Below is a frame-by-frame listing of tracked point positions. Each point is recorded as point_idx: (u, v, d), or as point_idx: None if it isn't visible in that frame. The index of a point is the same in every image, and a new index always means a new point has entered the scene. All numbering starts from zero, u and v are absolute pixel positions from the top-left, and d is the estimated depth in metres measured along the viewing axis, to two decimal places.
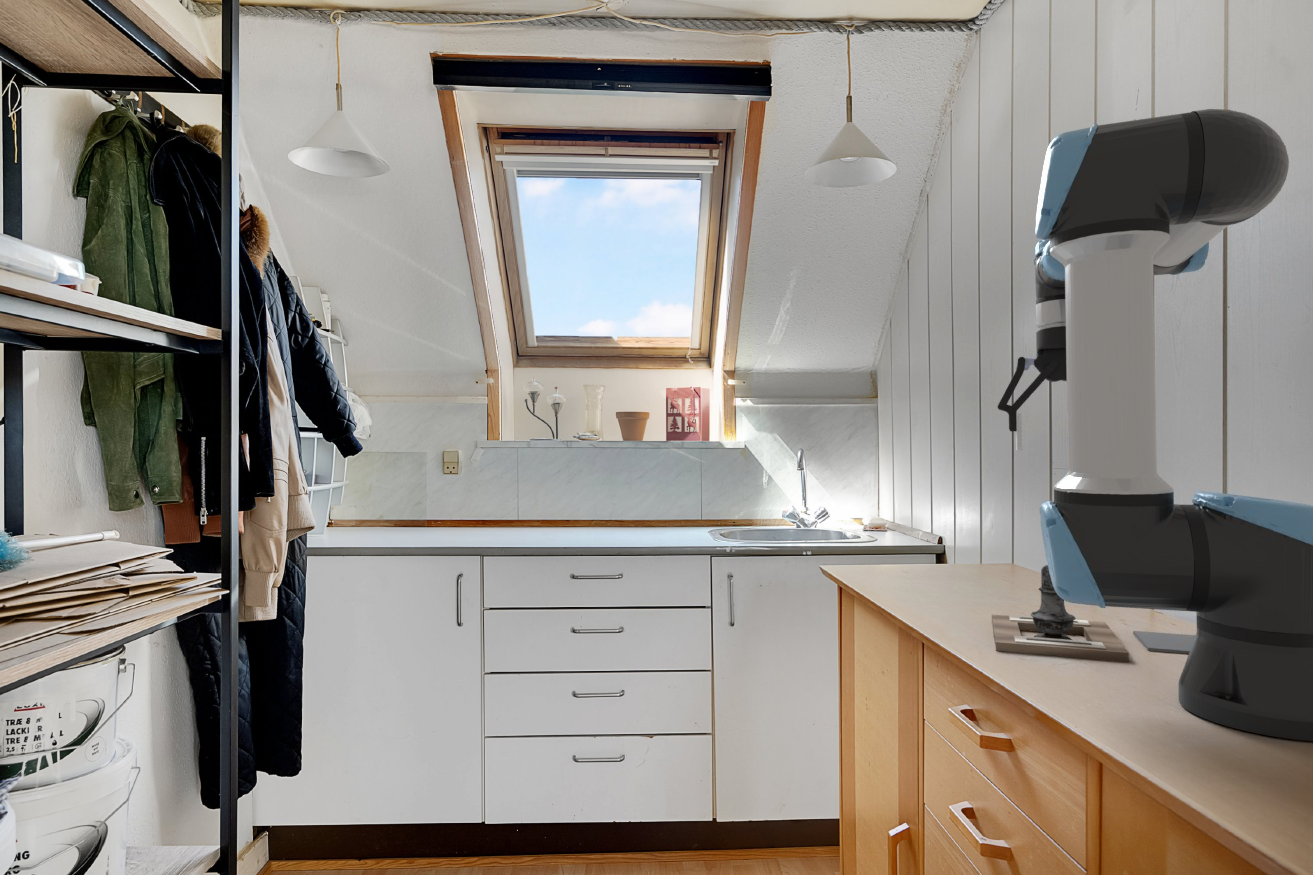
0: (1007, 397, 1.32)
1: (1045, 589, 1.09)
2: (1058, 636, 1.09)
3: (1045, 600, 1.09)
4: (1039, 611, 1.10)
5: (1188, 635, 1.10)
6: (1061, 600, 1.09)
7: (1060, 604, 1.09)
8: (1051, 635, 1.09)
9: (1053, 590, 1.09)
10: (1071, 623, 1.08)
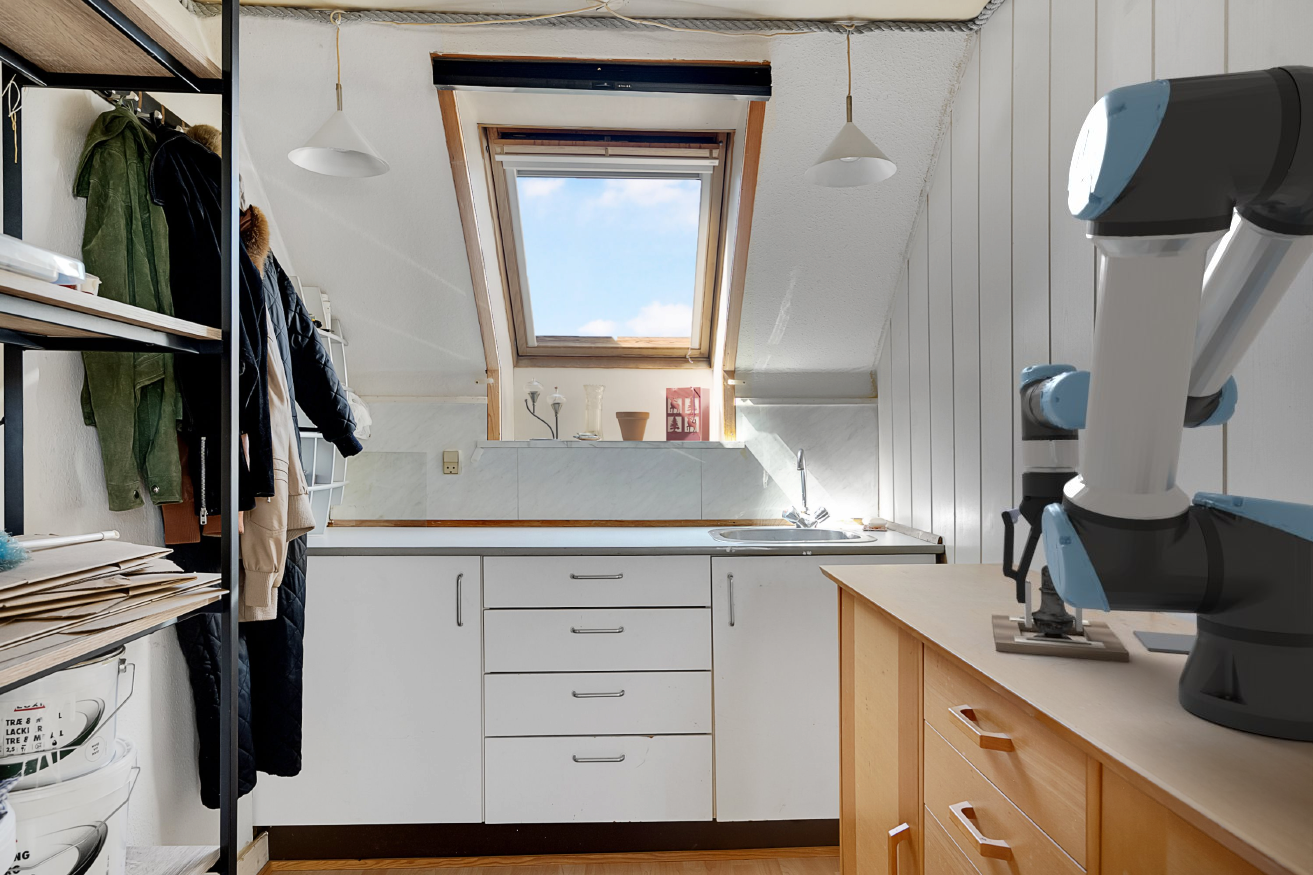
0: (1009, 561, 1.11)
1: (1045, 589, 1.09)
2: (1058, 636, 1.09)
3: (1045, 600, 1.09)
4: (1039, 611, 1.10)
5: (1188, 635, 1.10)
6: (1061, 600, 1.09)
7: (1060, 604, 1.09)
8: (1051, 635, 1.09)
9: (1053, 590, 1.09)
10: (1071, 623, 1.08)
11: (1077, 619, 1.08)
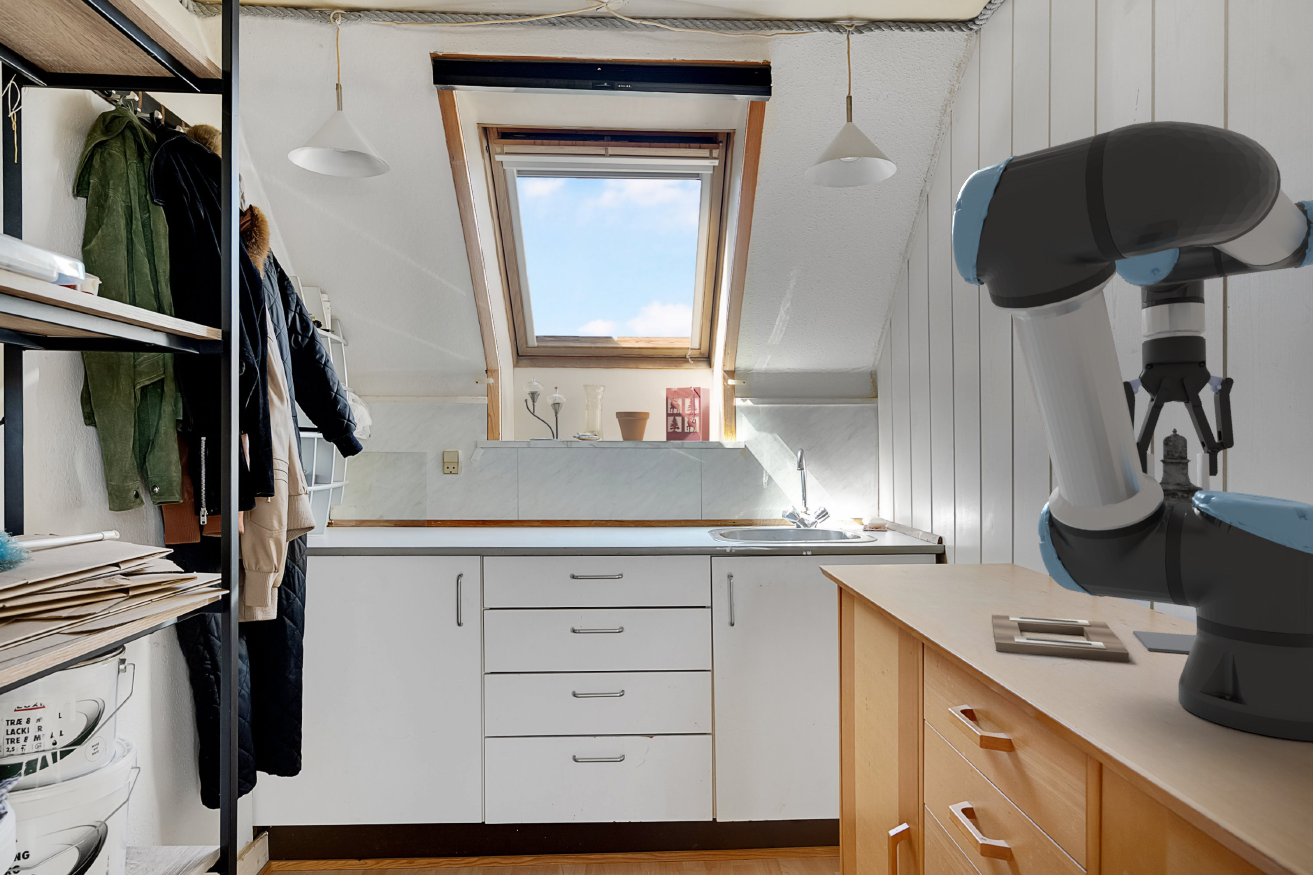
0: None
1: (1169, 459, 1.06)
2: None
3: (1168, 470, 1.06)
4: (1161, 483, 1.07)
5: (1188, 635, 1.10)
6: (1186, 469, 1.05)
7: (1184, 473, 1.05)
8: None
9: (1178, 459, 1.05)
10: None
11: (1204, 488, 1.04)
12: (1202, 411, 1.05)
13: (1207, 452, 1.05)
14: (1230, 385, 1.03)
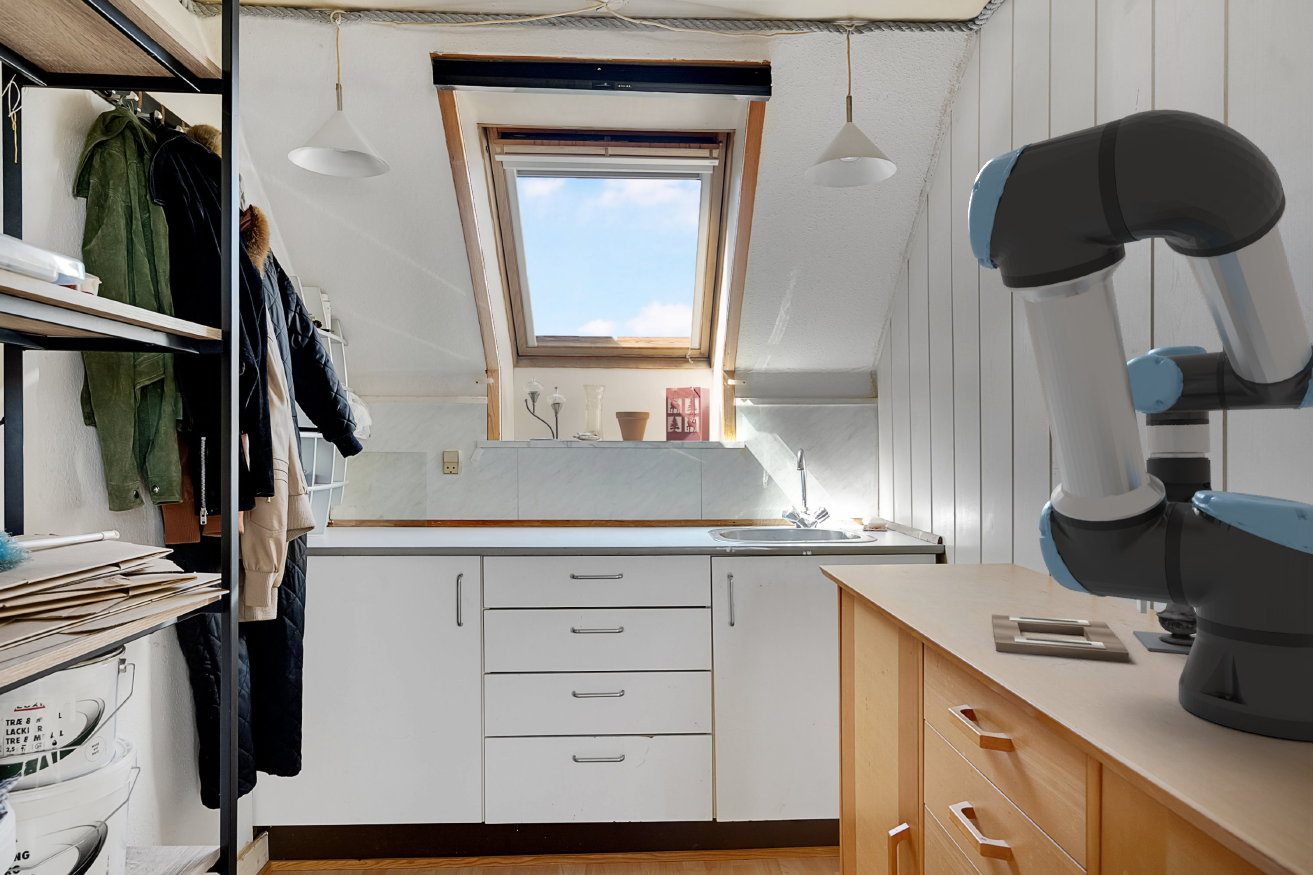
0: None
1: None
2: (1187, 636, 1.05)
3: None
4: (1166, 610, 1.07)
5: None
6: None
7: None
8: (1180, 635, 1.06)
9: None
10: None
11: None
12: None
13: None
14: None
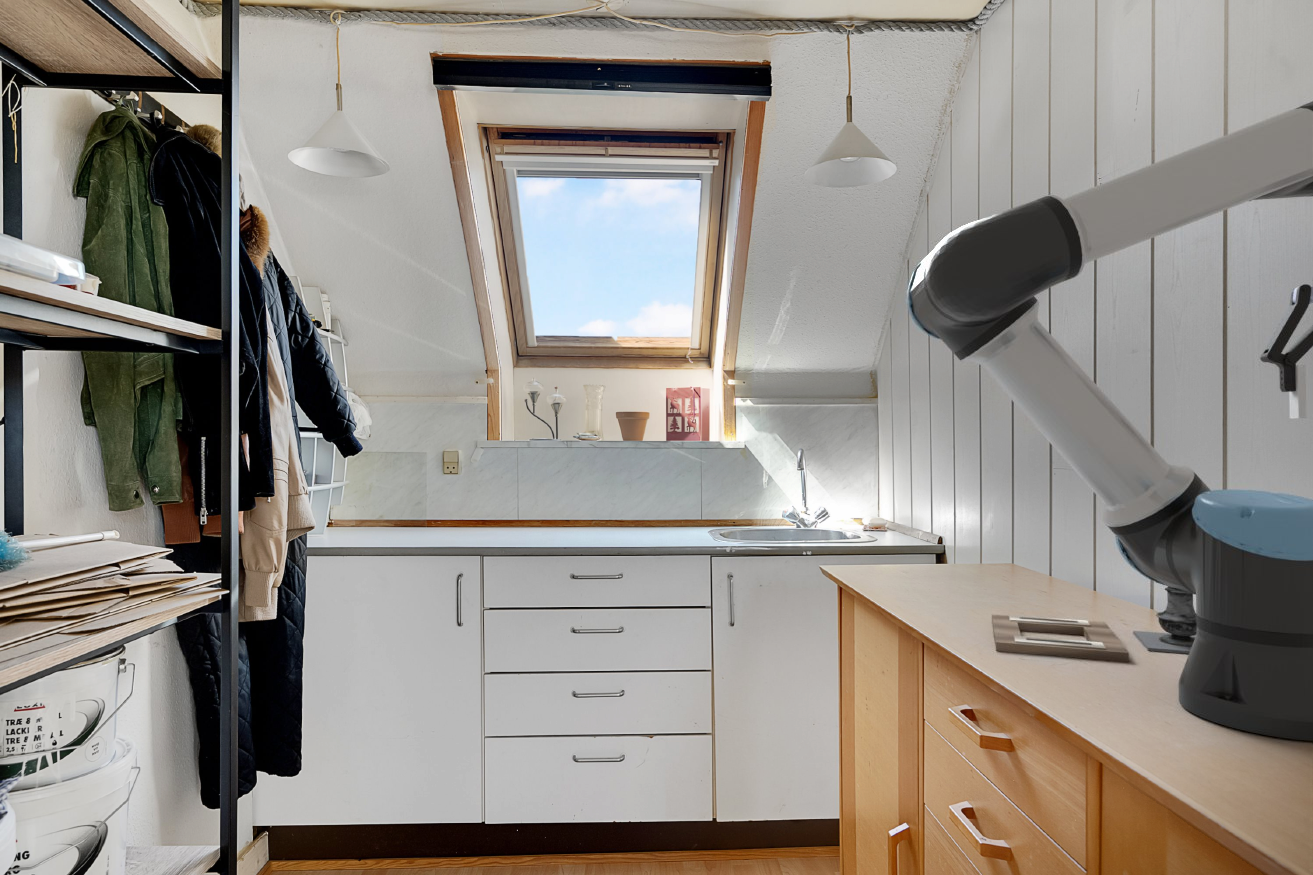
0: (1282, 343, 0.92)
1: (1173, 590, 1.06)
2: (1187, 638, 1.05)
3: (1173, 601, 1.06)
4: (1166, 612, 1.07)
5: None
6: (1191, 601, 1.05)
7: (1189, 605, 1.05)
8: (1180, 637, 1.06)
9: (1182, 590, 1.05)
10: None
11: None
12: None
13: None
14: None
